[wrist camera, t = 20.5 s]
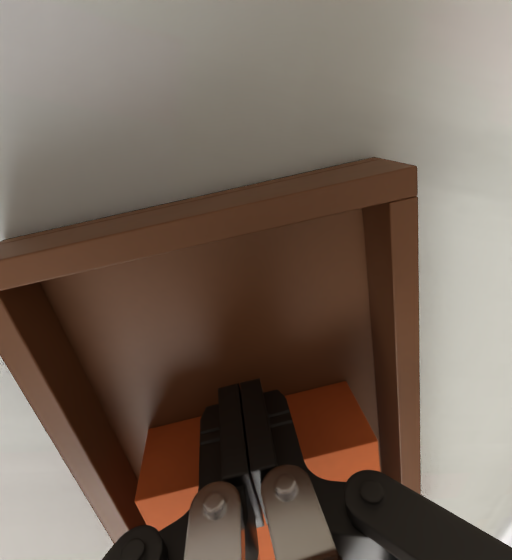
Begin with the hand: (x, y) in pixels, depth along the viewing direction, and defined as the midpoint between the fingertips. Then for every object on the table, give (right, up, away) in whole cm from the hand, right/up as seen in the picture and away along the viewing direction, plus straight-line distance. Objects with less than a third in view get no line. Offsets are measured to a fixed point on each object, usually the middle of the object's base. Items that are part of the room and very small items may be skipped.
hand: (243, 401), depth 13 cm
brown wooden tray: (0, -3, +3) cm, 4 cm away
